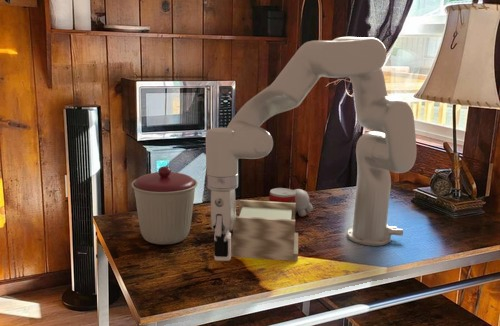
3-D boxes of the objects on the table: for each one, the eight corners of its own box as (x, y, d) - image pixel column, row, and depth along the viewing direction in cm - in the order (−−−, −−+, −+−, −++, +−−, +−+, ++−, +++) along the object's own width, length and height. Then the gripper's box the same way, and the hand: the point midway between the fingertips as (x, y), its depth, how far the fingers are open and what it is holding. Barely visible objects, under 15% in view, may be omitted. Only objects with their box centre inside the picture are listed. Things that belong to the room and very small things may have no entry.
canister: (129, 229, 146) (127, 160, 141) (189, 224, 152) (189, 157, 147) (137, 254, 130) (135, 177, 125) (204, 246, 136) (205, 172, 131)
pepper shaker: (231, 254, 124) (230, 218, 121) (230, 261, 120) (230, 224, 117) (215, 254, 124) (214, 218, 121) (214, 261, 120) (214, 225, 117)
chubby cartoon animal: (276, 221, 165) (269, 199, 161) (304, 204, 169) (298, 182, 165) (288, 228, 158) (280, 206, 155) (317, 210, 162) (310, 188, 159)
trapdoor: (291, 216, 140) (291, 209, 140) (290, 231, 128) (291, 224, 128) (242, 213, 141) (242, 206, 141) (237, 228, 130) (237, 221, 129)
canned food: (292, 230, 149) (294, 196, 147) (266, 228, 151) (267, 193, 148) (295, 222, 157) (297, 189, 154) (270, 219, 158) (271, 186, 155)
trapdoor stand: (297, 239, 143) (299, 203, 140) (297, 261, 129) (299, 221, 126) (234, 235, 145) (235, 199, 142) (227, 256, 130) (228, 217, 128)
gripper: (233, 191, 108) (233, 268, 113) (242, 171, 124) (241, 238, 129) (199, 190, 109) (201, 266, 113) (212, 170, 125) (213, 237, 130)
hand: (222, 250), depth 121 cm, fingers closed on pepper shaker, 4 cm apart
